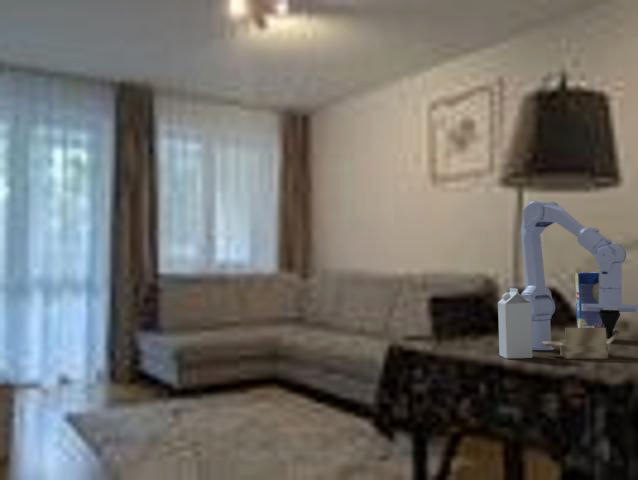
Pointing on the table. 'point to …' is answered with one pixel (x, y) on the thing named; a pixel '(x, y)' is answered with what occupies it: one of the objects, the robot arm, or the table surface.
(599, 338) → the flap
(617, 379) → the table surface
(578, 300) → the beverage box
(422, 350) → the table surface
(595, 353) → the carton
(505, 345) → the milk carton
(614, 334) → the flap
